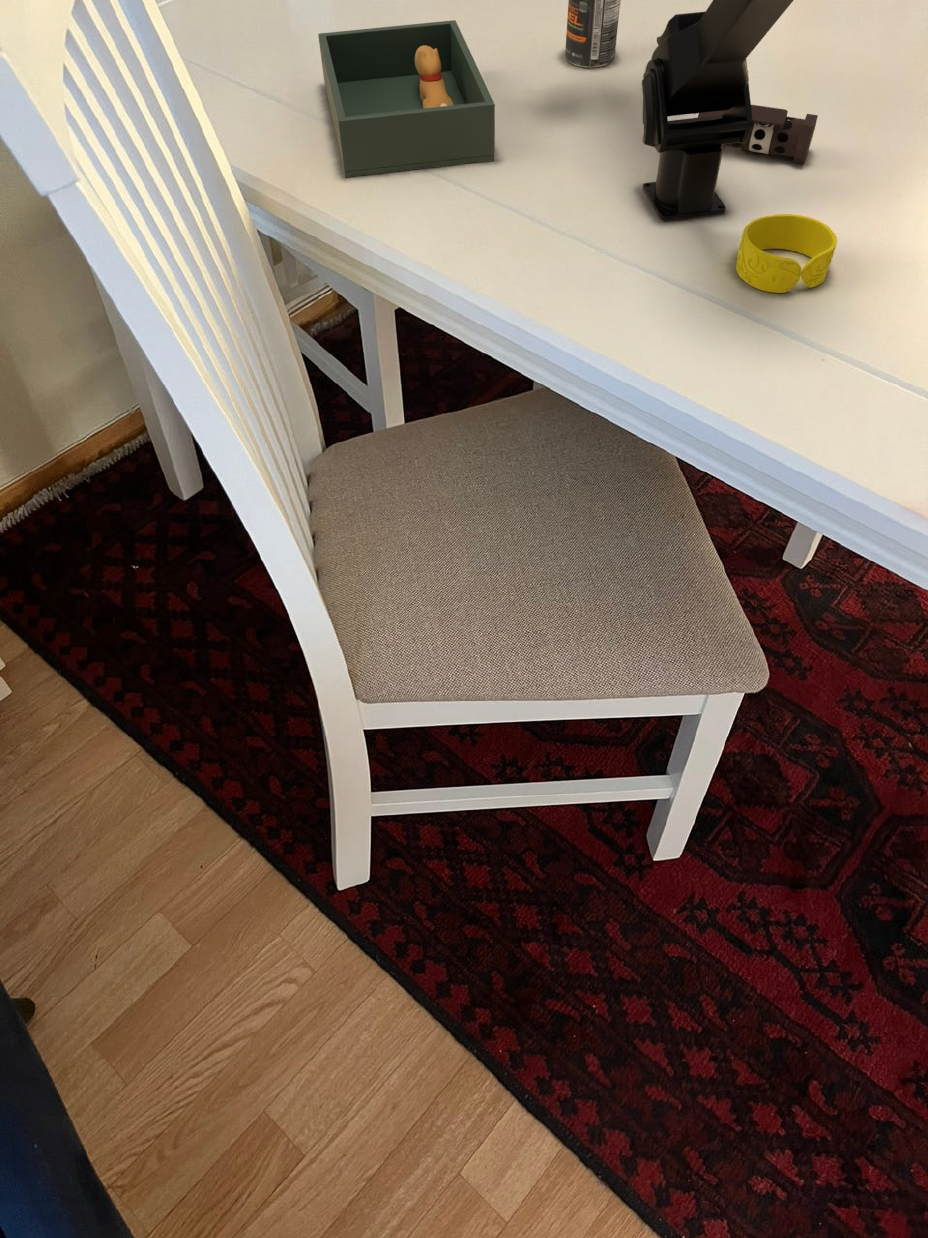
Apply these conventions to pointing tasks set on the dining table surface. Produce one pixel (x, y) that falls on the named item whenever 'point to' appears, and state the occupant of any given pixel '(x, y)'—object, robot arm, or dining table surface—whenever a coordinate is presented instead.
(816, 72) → the dining table surface
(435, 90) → the toy
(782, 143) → the brown bracket with holes
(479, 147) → the green storage tray
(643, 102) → the robot arm
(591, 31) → the pill bottle
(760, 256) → the bracelet
